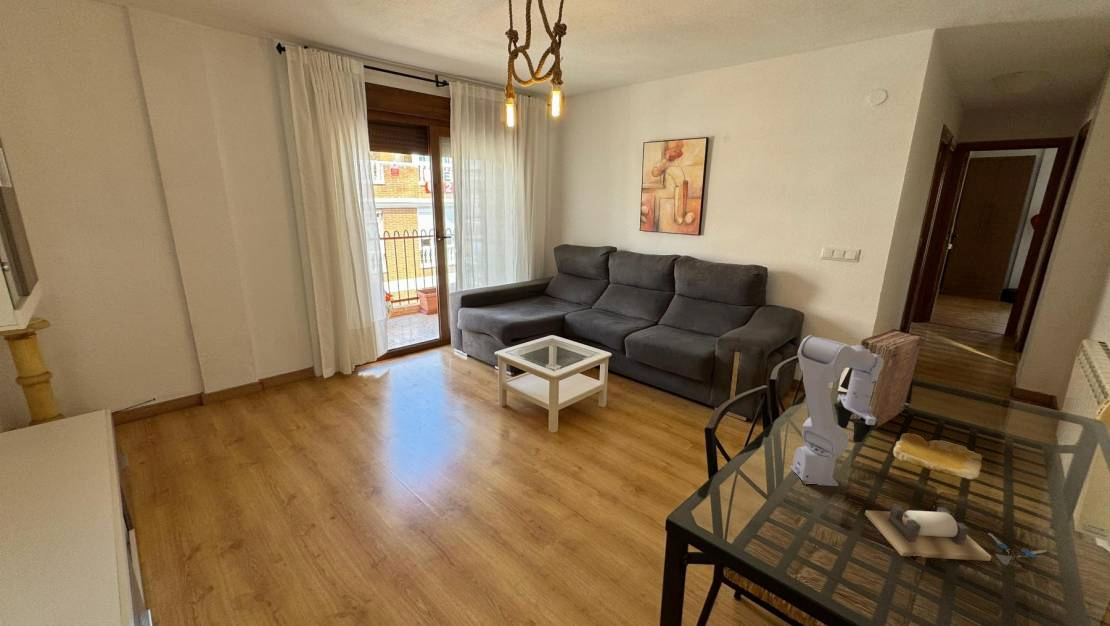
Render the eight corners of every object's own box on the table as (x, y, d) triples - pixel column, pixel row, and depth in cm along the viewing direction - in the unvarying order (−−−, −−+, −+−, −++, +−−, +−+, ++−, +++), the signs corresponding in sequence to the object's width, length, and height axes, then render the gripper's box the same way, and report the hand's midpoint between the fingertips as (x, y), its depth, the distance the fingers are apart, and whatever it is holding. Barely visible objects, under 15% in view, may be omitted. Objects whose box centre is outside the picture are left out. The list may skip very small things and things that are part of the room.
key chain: (1015, 573, 95) (1016, 570, 95) (968, 545, 102) (969, 542, 102) (1046, 553, 100) (1047, 550, 100) (1000, 528, 107) (1001, 525, 107)
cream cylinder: (903, 537, 103) (918, 531, 99) (894, 513, 106) (907, 507, 102) (952, 539, 102) (968, 534, 98) (941, 516, 106) (956, 509, 102)
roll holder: (901, 555, 98) (907, 535, 96) (864, 514, 110) (869, 495, 109) (989, 560, 97) (997, 540, 96) (942, 518, 110) (948, 499, 108)
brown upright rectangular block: (871, 430, 150) (892, 347, 142) (842, 418, 157) (861, 339, 149) (903, 412, 164) (923, 335, 155) (875, 401, 171) (893, 328, 163)
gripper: (891, 404, 118) (880, 449, 122) (858, 381, 132) (848, 422, 136) (864, 403, 119) (853, 447, 122) (834, 380, 133) (825, 421, 136)
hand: (849, 434), depth 129 cm, fingers open, 7 cm apart
